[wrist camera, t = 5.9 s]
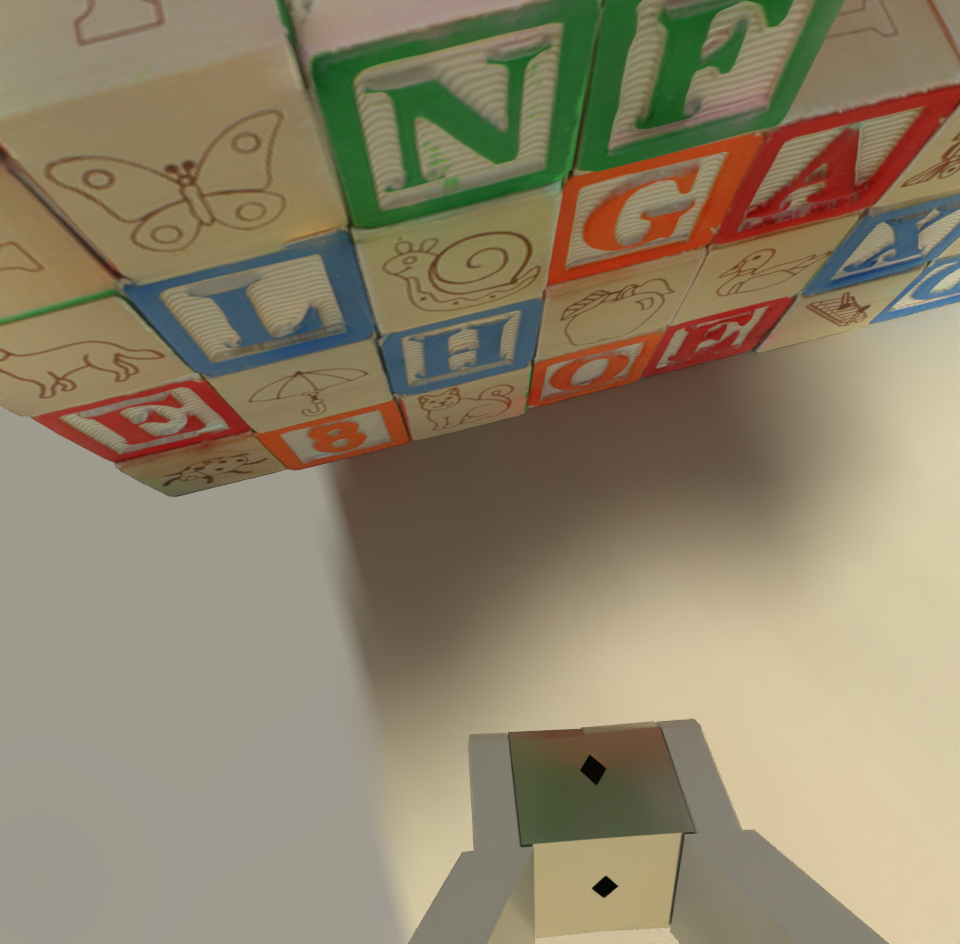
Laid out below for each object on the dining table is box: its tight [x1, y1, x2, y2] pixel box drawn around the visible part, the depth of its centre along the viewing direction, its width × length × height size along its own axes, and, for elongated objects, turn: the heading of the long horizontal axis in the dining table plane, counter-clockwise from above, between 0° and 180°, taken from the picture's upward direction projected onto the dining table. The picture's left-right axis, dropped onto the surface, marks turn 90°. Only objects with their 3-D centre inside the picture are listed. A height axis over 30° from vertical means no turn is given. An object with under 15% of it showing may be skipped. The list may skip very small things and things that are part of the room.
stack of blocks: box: [0, 0, 960, 497], centre depth 14 cm, size 21×6×12 cm, turn 105°
